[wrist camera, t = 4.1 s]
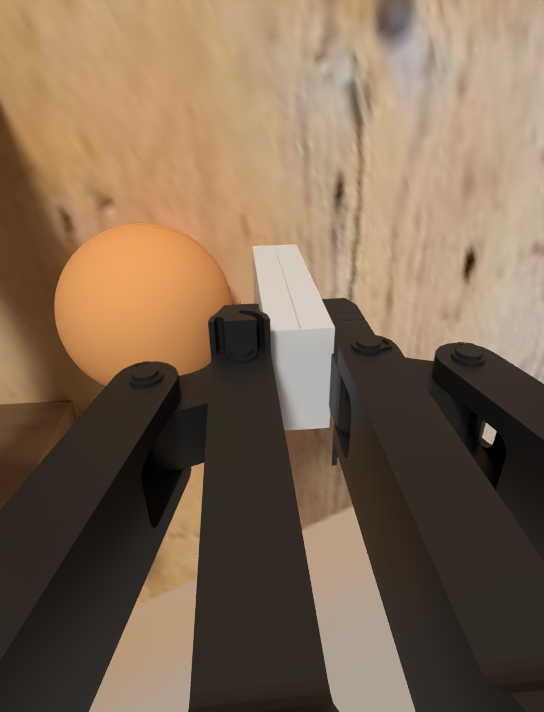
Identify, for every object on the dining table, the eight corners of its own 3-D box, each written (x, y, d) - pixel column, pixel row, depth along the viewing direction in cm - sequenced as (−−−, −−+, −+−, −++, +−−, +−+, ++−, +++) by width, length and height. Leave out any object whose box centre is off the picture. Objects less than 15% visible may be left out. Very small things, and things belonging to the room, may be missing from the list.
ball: (242, 343, 19) (107, 346, 19) (233, 203, 16) (75, 207, 16) (231, 430, 14) (50, 432, 14) (215, 251, 11) (-10, 256, 11)
